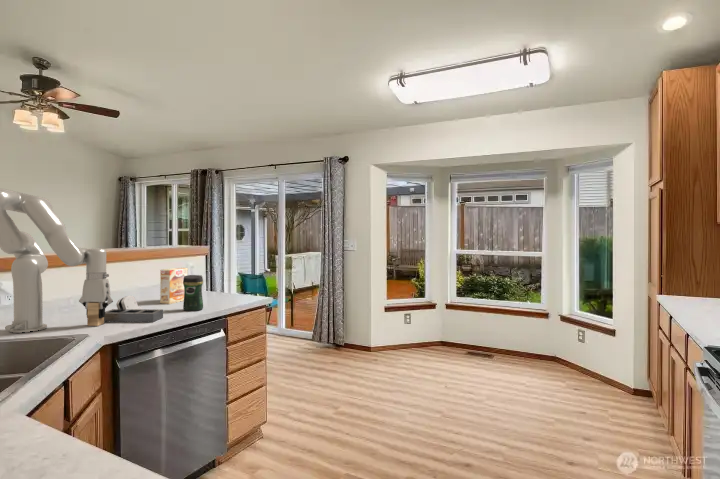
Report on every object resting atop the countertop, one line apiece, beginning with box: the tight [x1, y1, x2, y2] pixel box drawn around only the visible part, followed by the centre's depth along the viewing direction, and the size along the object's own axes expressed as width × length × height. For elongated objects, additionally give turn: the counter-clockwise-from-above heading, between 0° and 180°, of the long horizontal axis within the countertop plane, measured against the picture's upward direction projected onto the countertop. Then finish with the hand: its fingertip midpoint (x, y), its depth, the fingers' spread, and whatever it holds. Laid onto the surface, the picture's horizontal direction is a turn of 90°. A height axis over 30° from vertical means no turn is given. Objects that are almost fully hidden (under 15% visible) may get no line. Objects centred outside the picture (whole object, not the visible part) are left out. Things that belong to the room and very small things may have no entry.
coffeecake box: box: [159, 267, 189, 305], centre depth 246 cm, size 15×7×20 cm, turn 162°
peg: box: [86, 302, 105, 327], centre depth 186 cm, size 4×4×10 cm
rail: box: [104, 308, 164, 323], centre depth 197 cm, size 10×24×4 cm, turn 91°
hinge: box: [115, 295, 143, 309], centre depth 211 cm, size 17×5×10 cm, turn 11°
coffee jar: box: [182, 274, 204, 312], centre depth 222 cm, size 10×8×19 cm
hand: (95, 317), depth 186 cm, fingers closed on peg, 4 cm apart
